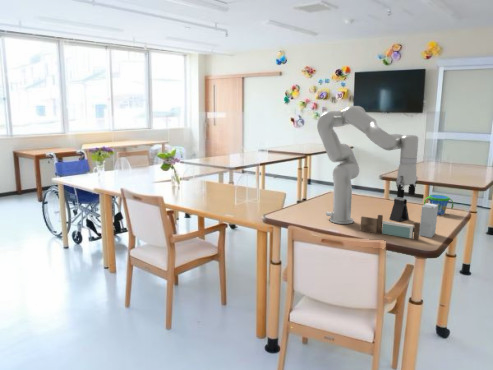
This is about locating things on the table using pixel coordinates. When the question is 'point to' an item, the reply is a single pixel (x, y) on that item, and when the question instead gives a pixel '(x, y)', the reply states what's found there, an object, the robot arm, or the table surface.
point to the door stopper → (399, 210)
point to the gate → (397, 229)
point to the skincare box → (428, 220)
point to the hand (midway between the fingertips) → (405, 196)
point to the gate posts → (376, 226)
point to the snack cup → (439, 202)
